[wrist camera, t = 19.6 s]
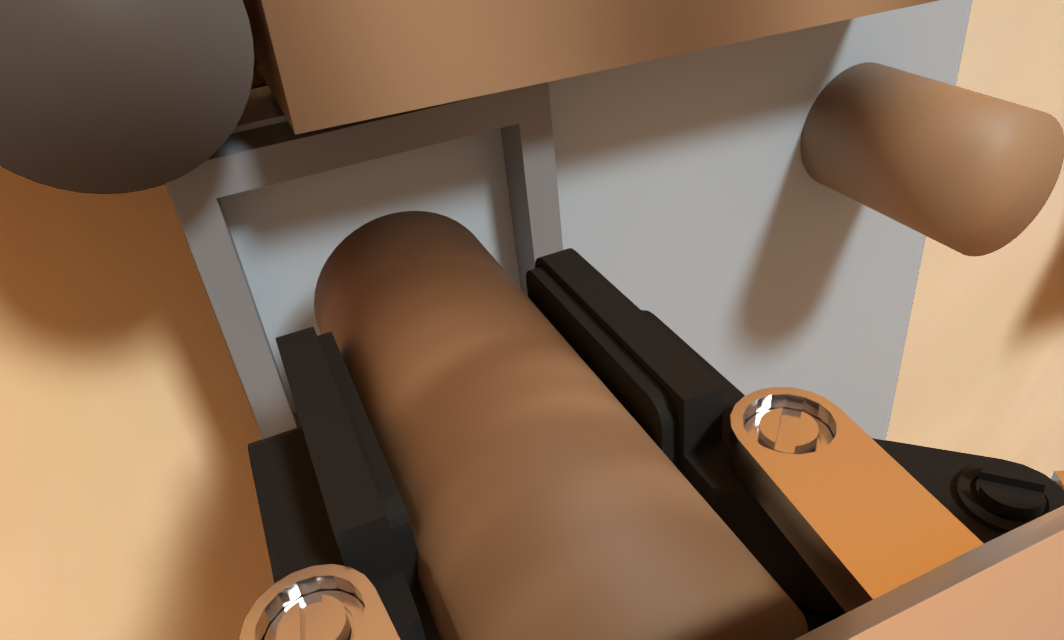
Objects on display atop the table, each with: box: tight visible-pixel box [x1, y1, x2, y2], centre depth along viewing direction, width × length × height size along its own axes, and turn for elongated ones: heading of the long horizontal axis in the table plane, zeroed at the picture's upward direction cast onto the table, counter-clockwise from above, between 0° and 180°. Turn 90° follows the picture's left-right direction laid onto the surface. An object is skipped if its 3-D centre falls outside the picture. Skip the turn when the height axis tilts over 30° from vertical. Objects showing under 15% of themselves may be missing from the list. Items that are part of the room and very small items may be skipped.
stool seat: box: [165, 0, 1064, 440], centre depth 18 cm, size 17×17×6 cm
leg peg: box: [314, 211, 808, 640], centre depth 10 cm, size 3×3×8 cm
